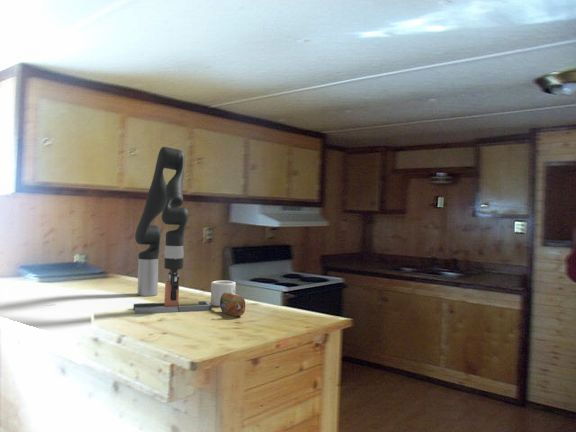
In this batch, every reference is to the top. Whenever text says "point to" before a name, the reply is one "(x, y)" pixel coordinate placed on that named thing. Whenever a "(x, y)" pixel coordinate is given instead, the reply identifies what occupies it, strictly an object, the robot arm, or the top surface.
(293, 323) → the top surface
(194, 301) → the khaki cube
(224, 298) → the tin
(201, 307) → the tray
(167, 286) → the pink rectangular block
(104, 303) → the top surface
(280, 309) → the top surface
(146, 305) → the slot bed
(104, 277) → the top surface
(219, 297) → the mug
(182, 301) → the tan cubic piece
